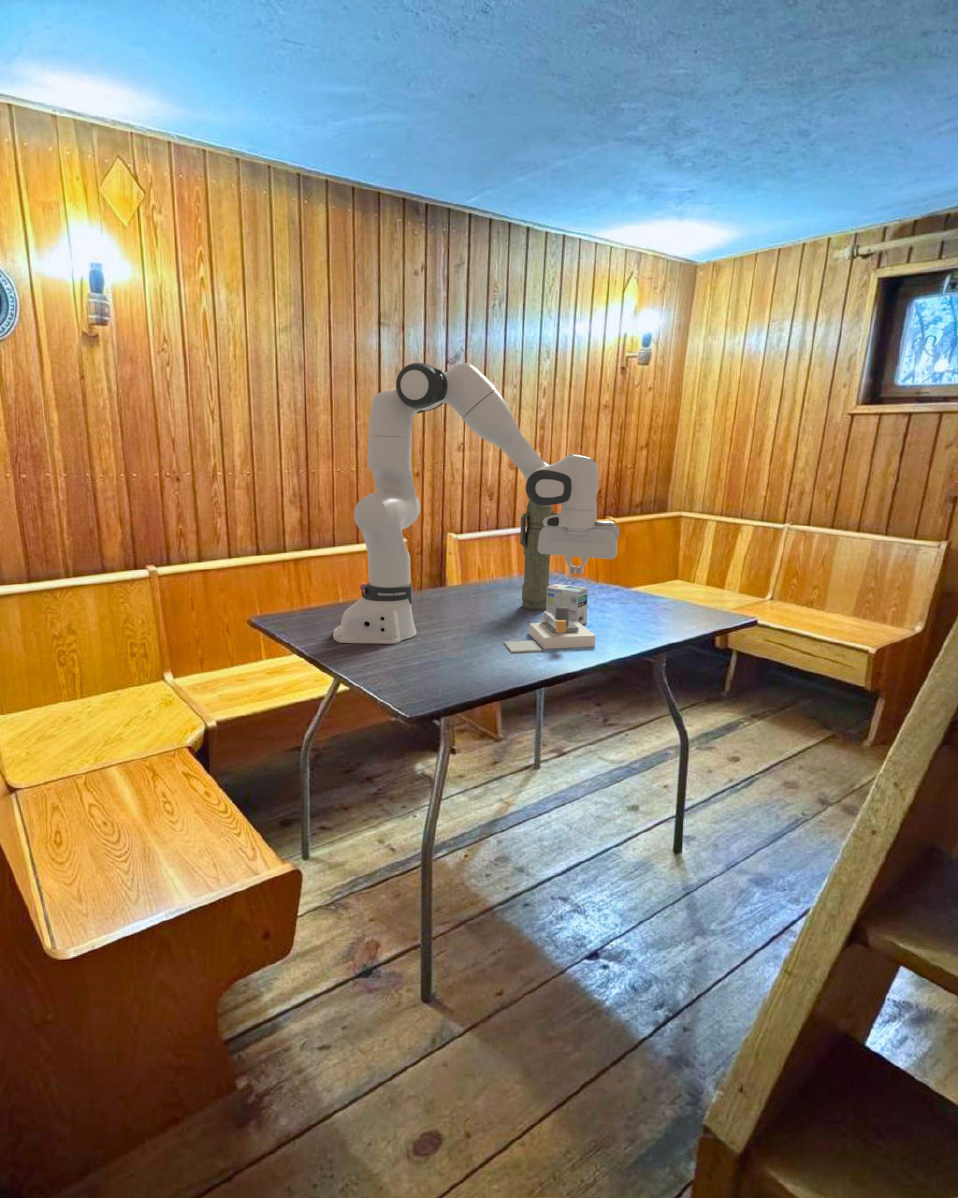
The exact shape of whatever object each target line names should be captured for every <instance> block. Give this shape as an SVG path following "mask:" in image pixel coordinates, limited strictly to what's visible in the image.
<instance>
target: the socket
mask: <svg viewBox="0 0 958 1198" xmlns="http://www.w3.org/2000/svg"><path fill="white" fill-rule="evenodd" d="M572 623H573V624H575V625H576V626H577V627H578V628H579V630H578V631H576V632H564V633H557V632H552V631H551V630H550V629H549V628H548V627H547V626H546V625H545V624H542V623H541V622H530V623H529V630H528V632H529V633H528V634H529V636H531V637H532V638H533V640H534V641H535V642H536V643H537V645H538V646H539V647H540V648H541V649H542V650H550V649H551V650H552V649H553V650H554V649H572V648H590V647H591V648H594V647H595V646H596V634H594V633H593V632H592V631H590V630H589V629H588V628H586V627H585V626H584V624H583V625H582V624H580V623H579V622H578V621H577V622H572Z"/></svg>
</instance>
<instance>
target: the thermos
mask: <svg viewBox="0 0 958 1198" xmlns="http://www.w3.org/2000/svg"><path fill="white" fill-rule="evenodd" d="M554 514H556V513H555V512H554V511H552V505H551V506H539V505H536V504H535V503H533V502H532V501H531V500H530V499H529V500H528V503H527V506H526V512H525V513H523V514H522V515H521V517H520V533H519V534H520V537H519V543H520V545H521V546H522V547H523V555H524V573H523V574H524V575H523V576H524V577H523V579H524V580H523V584H522V585H521V586H522V587H521V600H522V605H521V608H522V609H524V610H528V611H546V597H547V587H548V586H551V585H550V562H551V558H550V557H551V555H548V554H540V553H539V551H538V540H539V534H540V531H541V529H542V528H544V527H545V526H544V525H543V520H544V518H546V517H548V516H551V515H554Z"/></svg>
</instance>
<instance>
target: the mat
mask: <svg viewBox="0 0 958 1198" xmlns="http://www.w3.org/2000/svg"><path fill="white" fill-rule="evenodd" d="M503 643H504V645H505V647H506V648H507V649H508V650H509V652H511V654H515V653H517V654H519V653H535V652H536V653H538V652H543V648H542V647H541V646H540V645H539V644H538V643H537V641H536V640H519V641H518V640H517V641H516V640H513V641H504V642H503Z"/></svg>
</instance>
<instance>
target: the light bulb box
mask: <svg viewBox="0 0 958 1198" xmlns="http://www.w3.org/2000/svg"><path fill="white" fill-rule="evenodd" d="M588 596H589V588H588V587H583V586H582V587H581V586H575V585H569V584H559V583H555V584H552V585H550V586H548V587H547V597H546V610H545V611H548V612H549V613H551V614H552V615H553V616H554V617H555V616H556V607H558V606H566V607H569V621H571V622H577V621H578V622H579V623H580V624H582V625H583V626H584V624H587V619H588V602H589V601H588V599H589V598H588Z"/></svg>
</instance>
